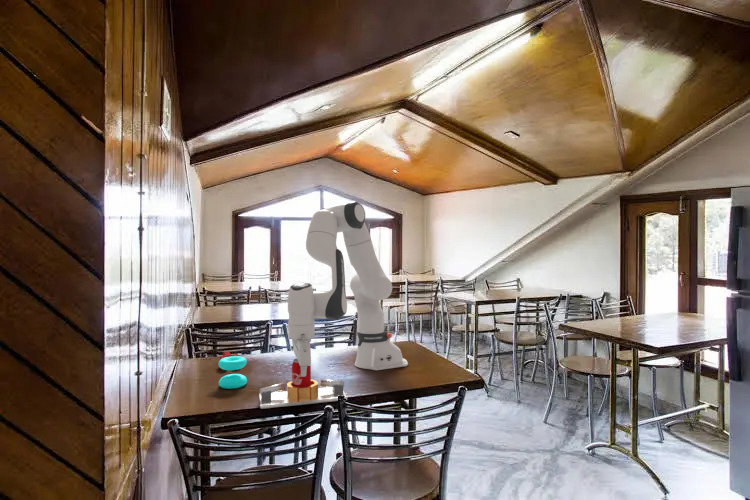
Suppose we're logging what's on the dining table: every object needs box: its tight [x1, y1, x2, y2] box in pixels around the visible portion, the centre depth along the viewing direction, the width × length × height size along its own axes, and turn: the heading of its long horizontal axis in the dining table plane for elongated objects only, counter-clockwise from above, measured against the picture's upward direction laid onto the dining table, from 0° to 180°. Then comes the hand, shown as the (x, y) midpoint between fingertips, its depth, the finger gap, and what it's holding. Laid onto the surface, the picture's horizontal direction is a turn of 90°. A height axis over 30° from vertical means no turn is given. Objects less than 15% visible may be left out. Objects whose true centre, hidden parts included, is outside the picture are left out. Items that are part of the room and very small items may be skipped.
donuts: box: [217, 355, 248, 390], centre depth 174 cm, size 10×10×10 cm
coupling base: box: [258, 378, 348, 410], centre depth 159 cm, size 28×12×6 cm, turn 105°
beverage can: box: [291, 358, 312, 387], centre depth 159 cm, size 6×6×12 cm
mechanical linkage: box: [219, 351, 239, 372], centre depth 201 cm, size 16×7×5 cm, turn 26°
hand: (302, 372), depth 159 cm, fingers open, 6 cm apart
